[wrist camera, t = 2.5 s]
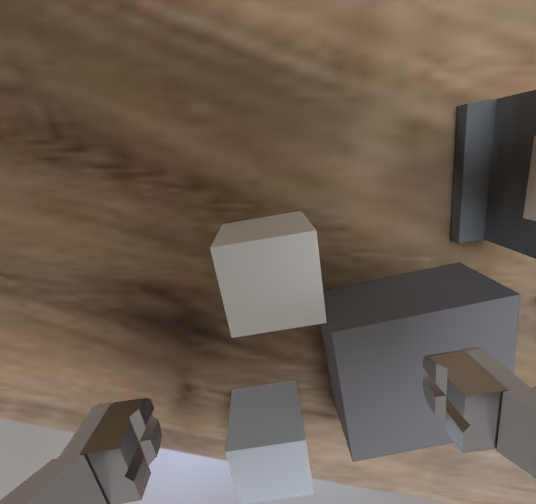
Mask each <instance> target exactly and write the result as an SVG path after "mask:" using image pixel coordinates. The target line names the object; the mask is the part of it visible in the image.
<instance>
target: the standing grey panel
mask: <svg viewBox="0 0 536 504" xmlns="http://www.w3.org/2000/svg"><path fill="white" fill-rule="evenodd" d="M451 240H452V241H454V242H456V243H465V242H471V241H478V240H487V241H490V242H492V243H495V244H498V245H500V246H503V247H506V248H508V249H511V250H514V251H517V252H519V253H522V254H525V255H527V256H530V257H533V258H536V90H533V91H529V92H524V93H520V94H516V95H512V96H508V97H503V98H499V99H494V100H488V101H482V102H476V103H470V104H465V105H461V106H458V111H457V130H456V148H455V167H454V185H453V204H452V222H451Z"/></svg>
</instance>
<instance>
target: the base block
mask: <svg viewBox="0 0 536 504" xmlns="http://www.w3.org/2000/svg"><path fill="white" fill-rule="evenodd" d="M323 294H324V303H325V312H326V321H327V323H323V324H320V325H321V331H322V337H323V342H324V348H325V353H326V359H327V365H328V370H329V376H330V382H331V387H332V393H333V399H334V403H335V406H336V409H337V413H338V416H339V419H340V422H341V425H342V429H343V432H344V435H345V438H346V441H347V445H348V448H349V451H350V454H351V457H352V460H353V462H354V461H359V460H365V459H370V458H375V457H381V456H386V455H391V454H397V453H402V452H407V451H413V450H418V449H423V448H429V447H434V446H439V445H445V444H450V443H454V441H453V440H452V438H451V437H450V435H449V434H448V433H447V431H446V430H445V421H444V420H443V419H441V418H439V417H438V416H436V415H435V414H434V413H433V411H432V410H431V408H430V407H429V405H428V403H427V401H426V398H425V395H424V391H423V378H424V377H425V376H426V374H427V372H426V371H425V369H424V368H423V358H424V356H425V355H431V354H438V353H444V352H450V351H456V350H460V349H466V348H472V347H480V348H482V349H484V350H485V351H486V352H487V353H489V354H490V355H491V356H492V357H494V358H495V359H496V360H497V361H498V362H500V363H501V364H502V365H503V366H505V367H506V368H507V369H508V370H509V371H511V372H512V373H513V374H514V362H515V351H516V339H517V328H518V316H519V304H520V294H519V293H517V292H515V291H513V290H511V289H509V288H507V287H505V286H503V285H502V284H500V283H498V282H496V281H494V280H492V279H490V278H488V277H486V276H484V275H483V274H481V273H479V272H477V271H475V270H473V269H471V268H469V267H467V266H465V265H463V264H462V263H460V262H459V263H454V264H449V265H445V266H440V267H435V268H430V269H425V270H420V271H416V272H411V273H406V274H401V275H396V276H392V277H387V278H382V279H377V280H372V281H367V282H363V283H358V284H353V285H348V286H343V287H339V288H334V289H329V290H324V291H323Z"/></svg>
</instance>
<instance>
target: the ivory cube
mask: <svg viewBox="0 0 536 504" xmlns="http://www.w3.org/2000/svg"><path fill="white" fill-rule="evenodd" d="M210 250H211V254H212V259H213V263H214V267H215V271H216V275H217V279H218V284H219V288H220V292H221V296H222V300H223V304H224V309H225V313H226V317H227V321H228V325H229V329H230V333H231V338H235V337H241V336H247V335H254V334H260V333H266V332H273V331H279V330H285V329H291V328H298V327H304V326H310V325H317V324H323V323H327V321H326V312H325V303H324V294H323V285H322V276H321V267H320V258H319V249H318V239H317V230H316V229H315V228H314V227H313V225H312V224H311V223H310V221H309V220H308V219H307V218H306V216H305V215H304V214H303V213H302V211H297V212H292V213H286V214H280V215H274V216H268V217H262V218H256V219H250V220H244V221H238V222H232V223H226V224H222V226H221V228H220V230H219V232H218V234H217V235H216V237H215V239H214V241H213V243H212V245H211V247H210Z"/></svg>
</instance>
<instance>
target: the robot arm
mask: <svg viewBox="0 0 536 504" xmlns="http://www.w3.org/2000/svg"><path fill="white" fill-rule="evenodd" d="M423 368H424V369H425V371H426V372H427V374H426V376H425V377H424V378H423V391H424V395H425V398H426V401H427V403H428V405H429V407H430V408H431V410H432V411H433V413H434V414H435V415H436V416H438V417H439V418H441V419H443V420H444V421H445V430H446V431H447V433H448V434H449V435H450V437H451V438H452V440H453V441H454V443H455V444H456V445H457V447H458V448H459V450H460V451H461V452H462V453H466V452H475V451H484V450H493V449H497V450H496V451H497V452H499V453H500V454H501V455H503V456H504V457H506V458H507V459H509V460H510V461H512V462H513V463H515V464H516V465H517V466H519V467H520V468H522V469H523V470H525V471H526V472H528V473H529V474H531V475H532V476H533V477H535V478H536V387H532V388H530V387H529V386H528V385H526V384H525V383H524V382H523V381H522V380H520V379H519V378H518V377H517V376H516V375H514V374H513V373H512V372H511V371H509V370H508V369H507V368H506V367H505V366H503V365H502V364H501V363H500V362H498V361H497V360H496V359H495V358H494V357H492V356H491V355H490V354H489V353H487V352H486V351H485V350H484V349H482V348H480V347H472V348H466V349H460V350H456V351H450V352H444V353H438V354H431V355H425V356H424V358H423ZM153 409H154V407H153V404H152V402H151V399H148V398H143V399H136V400H128V401H120V402H114V403H107V404H99V405H97V406H95V407H94V408H92V410H91V411H90V413H89V414H88V416H87V417H86V418H85V420H84V421H83V423H82V424H81V426H80V427H79V429H78V430H77V432H76V433H75V434H74V436H73V437H72V439H71V440H70V442H69V443H68V445H67V446H66V448H65V449H64V451H63V452H62V453H61V455H60V456H59V458H58V459H53V460H51V461H50V462H49V463H47V464H46V465H45V466H43V467H42V468H41V469H40V470H38V471H37V472H36V473H35V474H33V475H32V476H31V477H29V478H28V479H27V480H26V481H24V482H23V483H22V484H20V485H19V486H18V487H17V488H15V489H14V490H13V491H12V492H10V493H9V494H8V495H6V496H5V497H4V498H3V499H1V500H0V504H122V503H127V502H133V501H138V500H142V497H143V494H144V491H145V488H146V486H147V483H148V480H149V477H150V474H151V472H150V469H149V466H148V465H149V464H150V463H151V462H152V461H153V460H154V459H155V458H156V457H157V454H158V451H159V448H160V442H161V427H160V424H159V421H158V419H156V418H155V417H154V416H152V415H151V414H152V412H153Z"/></svg>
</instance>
